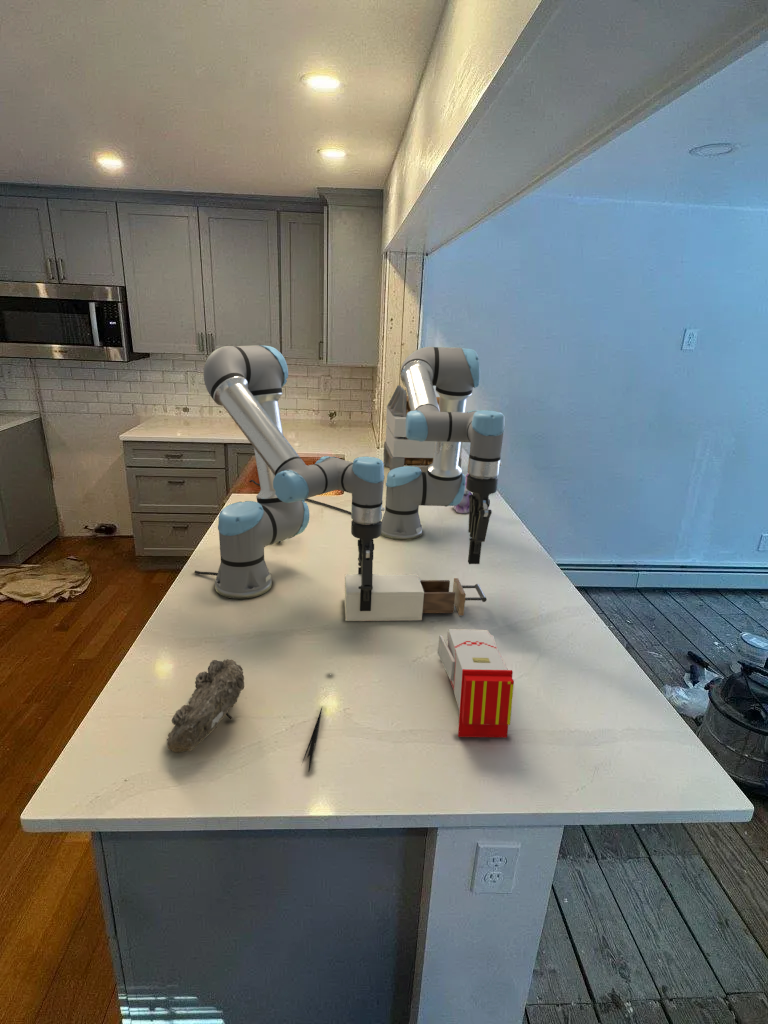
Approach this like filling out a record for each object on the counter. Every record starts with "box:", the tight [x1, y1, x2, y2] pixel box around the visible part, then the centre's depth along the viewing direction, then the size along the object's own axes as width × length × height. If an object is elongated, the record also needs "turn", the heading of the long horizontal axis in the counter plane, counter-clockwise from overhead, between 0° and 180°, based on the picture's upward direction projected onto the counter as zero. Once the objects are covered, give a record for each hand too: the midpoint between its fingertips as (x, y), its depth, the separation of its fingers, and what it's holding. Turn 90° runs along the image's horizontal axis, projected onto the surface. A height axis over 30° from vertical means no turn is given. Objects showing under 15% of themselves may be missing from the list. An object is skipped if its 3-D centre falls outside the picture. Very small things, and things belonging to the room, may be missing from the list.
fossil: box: [166, 658, 245, 754], centre depth 106 cm, size 22×10×15 cm
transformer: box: [383, 384, 464, 471], centre depth 268 cm, size 34×33×41 cm
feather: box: [301, 673, 332, 771], centre depth 108 cm, size 2×28×2 cm
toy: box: [437, 628, 515, 738], centre depth 117 cm, size 12×13×30 cm
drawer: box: [420, 577, 488, 616], centre depth 149 cm, size 24×9×6 cm, turn 95°
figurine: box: [453, 472, 473, 514], centre depth 224 cm, size 9×10×15 cm
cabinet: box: [343, 573, 424, 622], centre depth 148 cm, size 20×10×8 cm, turn 95°
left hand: (364, 599), depth 147 cm, fingers open, 10 cm apart
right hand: (473, 562), depth 147 cm, fingers closed
